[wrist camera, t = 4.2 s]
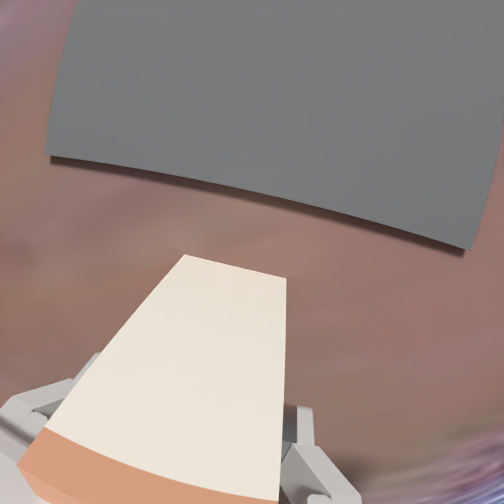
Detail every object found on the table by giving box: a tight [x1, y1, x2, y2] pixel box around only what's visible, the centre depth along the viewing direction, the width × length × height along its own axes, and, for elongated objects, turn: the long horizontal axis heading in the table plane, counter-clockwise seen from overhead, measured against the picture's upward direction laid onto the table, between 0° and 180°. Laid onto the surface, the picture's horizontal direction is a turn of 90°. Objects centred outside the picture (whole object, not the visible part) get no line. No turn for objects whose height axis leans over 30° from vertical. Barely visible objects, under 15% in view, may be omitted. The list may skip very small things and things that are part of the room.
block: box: [16, 255, 286, 504], centre depth 9 cm, size 4×6×10 cm, turn 168°
